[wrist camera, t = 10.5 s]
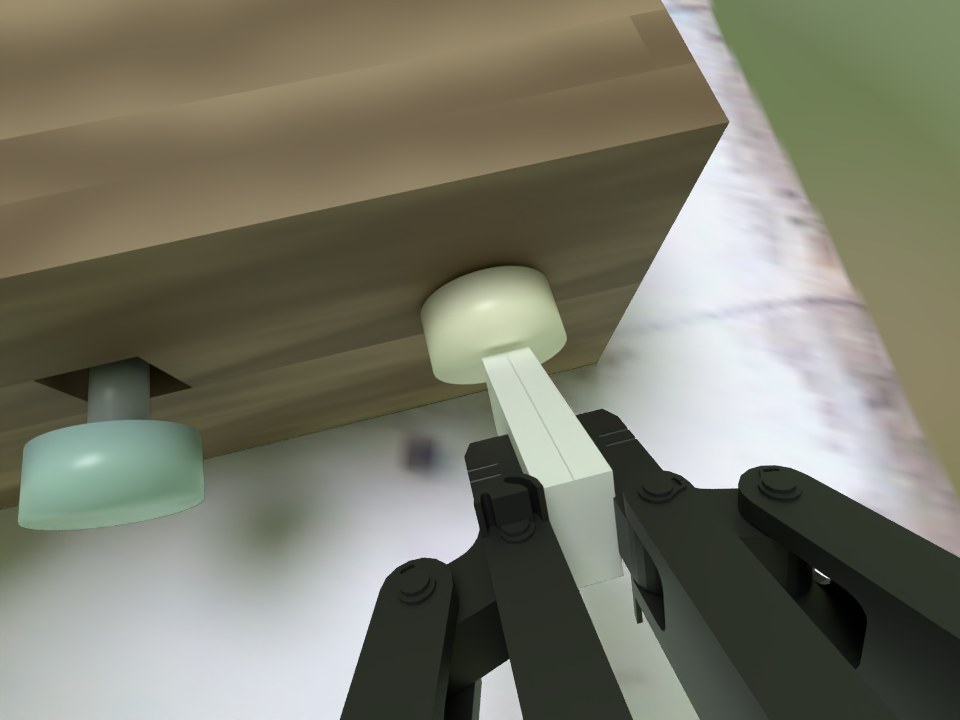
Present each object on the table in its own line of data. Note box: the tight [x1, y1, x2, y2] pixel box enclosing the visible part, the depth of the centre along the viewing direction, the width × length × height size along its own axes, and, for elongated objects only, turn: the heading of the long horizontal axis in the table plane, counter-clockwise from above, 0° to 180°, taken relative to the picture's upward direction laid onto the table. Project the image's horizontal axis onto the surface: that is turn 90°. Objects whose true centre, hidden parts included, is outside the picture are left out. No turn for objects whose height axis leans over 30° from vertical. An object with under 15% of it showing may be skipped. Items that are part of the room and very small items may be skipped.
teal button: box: [18, 357, 205, 530], centre depth 16 cm, size 6×4×4 cm
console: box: [0, 0, 729, 509], centre depth 20 cm, size 10×36×16 cm, turn 104°
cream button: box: [420, 266, 567, 384], centre depth 17 cm, size 6×4×4 cm
